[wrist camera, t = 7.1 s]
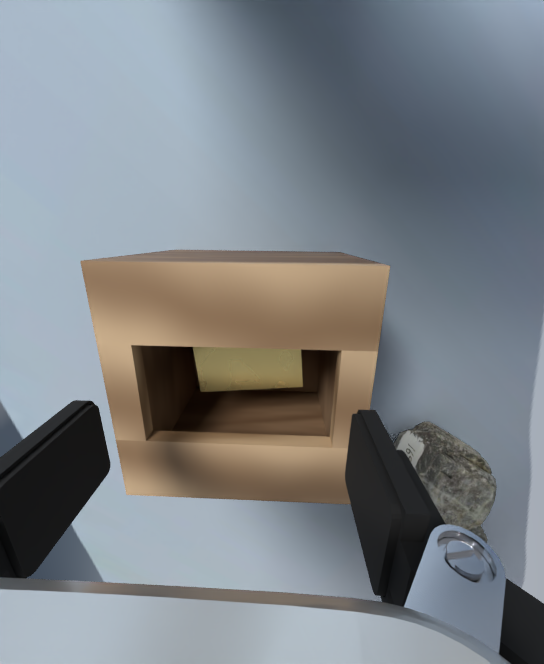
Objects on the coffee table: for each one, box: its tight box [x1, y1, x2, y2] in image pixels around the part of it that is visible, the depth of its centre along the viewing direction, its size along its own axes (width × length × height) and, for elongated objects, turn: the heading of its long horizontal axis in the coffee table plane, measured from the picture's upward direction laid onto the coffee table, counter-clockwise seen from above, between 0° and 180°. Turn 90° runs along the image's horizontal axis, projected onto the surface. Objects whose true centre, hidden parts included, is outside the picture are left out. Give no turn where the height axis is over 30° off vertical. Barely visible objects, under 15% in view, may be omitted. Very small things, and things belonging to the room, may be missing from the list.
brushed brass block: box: [193, 347, 303, 392], centre depth 19 cm, size 3×6×6 cm, turn 94°
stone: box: [393, 422, 497, 543], centre depth 24 cm, size 14×7×10 cm, turn 3°
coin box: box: [81, 250, 390, 504], centre depth 18 cm, size 12×12×10 cm
